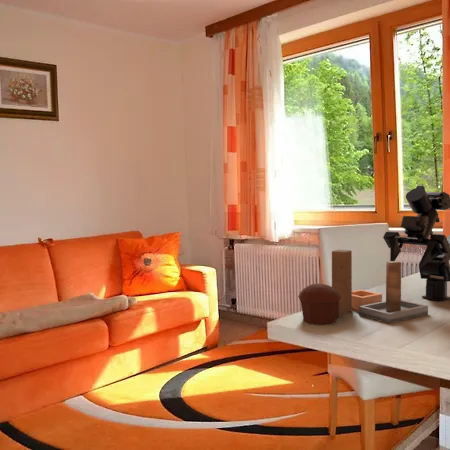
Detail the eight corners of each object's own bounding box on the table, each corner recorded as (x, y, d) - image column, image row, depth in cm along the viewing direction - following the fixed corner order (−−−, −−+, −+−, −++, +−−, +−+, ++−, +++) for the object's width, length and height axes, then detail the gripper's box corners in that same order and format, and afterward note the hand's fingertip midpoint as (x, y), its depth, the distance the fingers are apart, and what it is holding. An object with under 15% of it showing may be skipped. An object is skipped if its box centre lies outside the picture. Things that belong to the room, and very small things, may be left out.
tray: (396, 306, 154) (396, 298, 154) (428, 314, 145) (428, 305, 145) (358, 314, 146) (358, 306, 146) (389, 323, 136) (389, 314, 136)
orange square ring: (360, 302, 161) (361, 289, 161) (381, 307, 154) (381, 294, 154) (341, 305, 157) (341, 293, 157) (362, 311, 150) (362, 297, 149)
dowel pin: (388, 308, 148) (388, 260, 147) (402, 310, 146) (402, 261, 145) (384, 311, 145) (384, 262, 144) (398, 313, 143) (399, 263, 142)
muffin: (290, 321, 140) (290, 285, 140) (311, 313, 149) (310, 279, 148) (329, 328, 133) (329, 290, 132) (348, 319, 141) (348, 284, 140)
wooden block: (339, 317, 144) (338, 253, 142) (324, 315, 146) (324, 252, 145) (352, 310, 151) (352, 250, 149) (338, 308, 153) (337, 249, 152)
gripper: (386, 205, 159) (367, 243, 152) (446, 206, 145) (428, 248, 139) (398, 229, 165) (380, 267, 158) (457, 232, 151) (440, 273, 144)
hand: (405, 263), depth 150 cm, fingers open, 9 cm apart
